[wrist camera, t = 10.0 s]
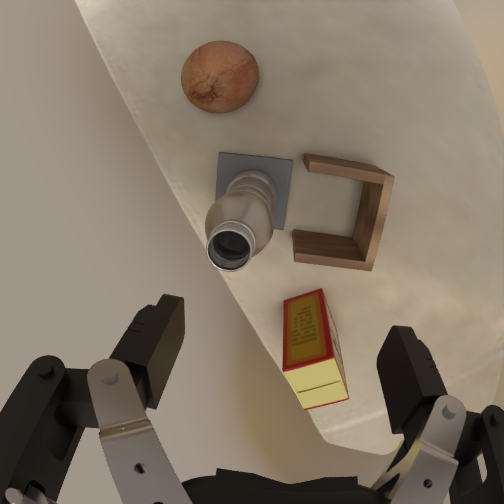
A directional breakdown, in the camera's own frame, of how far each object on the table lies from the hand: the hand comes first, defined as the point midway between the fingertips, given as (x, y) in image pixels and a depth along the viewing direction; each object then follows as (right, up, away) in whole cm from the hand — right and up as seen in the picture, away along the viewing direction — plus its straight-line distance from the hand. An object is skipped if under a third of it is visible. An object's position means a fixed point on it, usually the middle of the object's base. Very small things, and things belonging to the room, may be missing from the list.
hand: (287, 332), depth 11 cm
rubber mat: (-1, +12, +31) cm, 33 cm away
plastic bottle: (-1, +11, +31) cm, 33 cm away
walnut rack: (+10, +10, +31) cm, 34 cm away
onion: (-5, +26, +25) cm, 36 cm away
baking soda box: (+9, -8, +39) cm, 41 cm away
